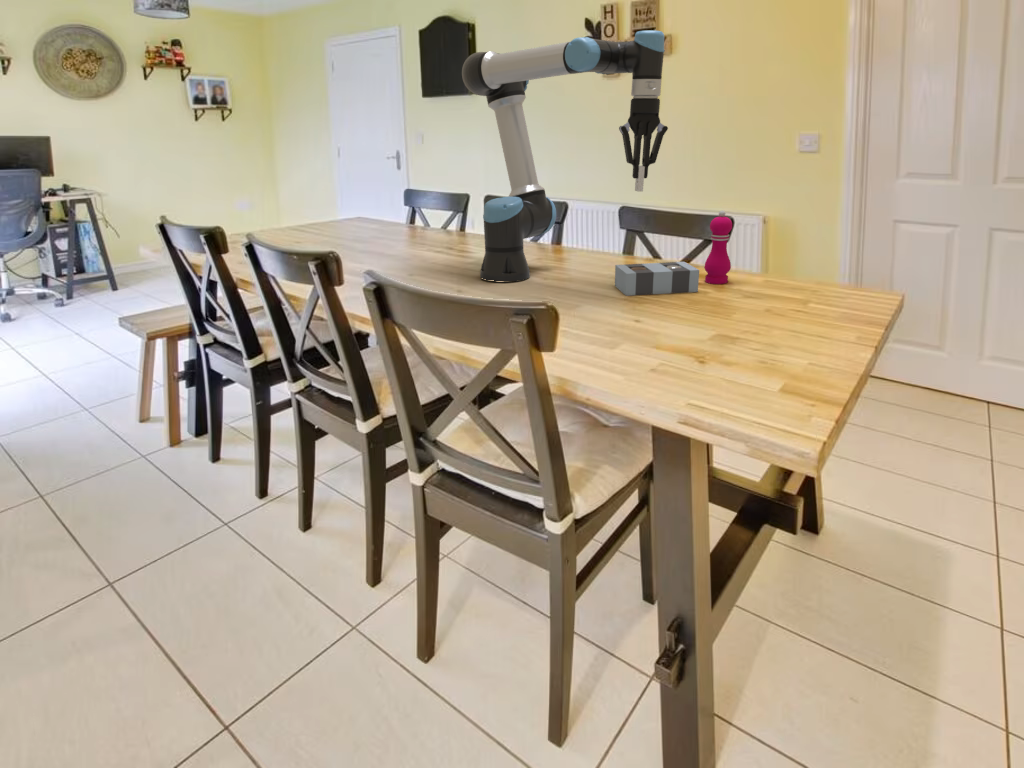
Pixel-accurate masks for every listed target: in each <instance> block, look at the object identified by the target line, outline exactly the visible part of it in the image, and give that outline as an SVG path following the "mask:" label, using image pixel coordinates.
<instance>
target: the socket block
mask: <svg viewBox="0 0 1024 768" xmlns="http://www.w3.org/2000/svg"><path fill="white" fill-rule="evenodd" d="M670 265H677V266H681V268H672V269H668V268H667V266H670ZM614 267H615V268H614V286H615V287H616V288H617V290H619V291H620V292H621V293H622V294H623V295H624V296H625V297H626V296H628V297H629V296H643V295H646V296H647V295H649V296H650V295H664V294H667V295H668V294H684V293H699V283H700V282H699V281H700V280H699V279H700V269H698V268H697V267H695V266H693V265H691V264H690V263H687V262H685V261H670V262H668V261H667V262H652V263H651V262H650V263H649V262H647V263H646V262H645V263H631V264H630V263H629V264H628V263H627V264H626V263H625V264H624V263H623V264H615V266H614ZM633 267H644V268H646V270H631V268H633Z"/></svg>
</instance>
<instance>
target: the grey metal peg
mask: <svg viewBox="0 0 1024 768" xmlns="http://www.w3.org/2000/svg"><path fill="white" fill-rule="evenodd" d="M667 268H668V269H672V268H681V266H677V265H670V266H667Z"/></svg>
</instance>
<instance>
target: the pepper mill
mask: <svg viewBox="0 0 1024 768" xmlns="http://www.w3.org/2000/svg"><path fill="white" fill-rule="evenodd" d="M732 229H733V222H732V220H731V219H730V218H729V217H728V216H726V211H725V210H720V211H718V216H717V217H714V218H713V219H712V220H711V222H710V223H709V230H710V231H711V233H712V234H710V240H711V249H710V252H709V255H708V256H707V258H706V260H705V263H704V270H705V271H706V273H707V274H706V275H705V278H704V281H705V283H707V284H712V285H722V284H727V283H728V281H729V276H728V275H727V274H728V273H729V272H730V270H731V267H732V265H731V264H732V263H731V259H730V256H729V254H728V250H727V249H728V247H727V246H728V241H729V240H730V234H729V233H730V232H731V231H732Z"/></svg>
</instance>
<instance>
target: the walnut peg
mask: <svg viewBox="0 0 1024 768" xmlns="http://www.w3.org/2000/svg"><path fill="white" fill-rule="evenodd" d="M631 270H646V268H644V267H633V268H631Z"/></svg>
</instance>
